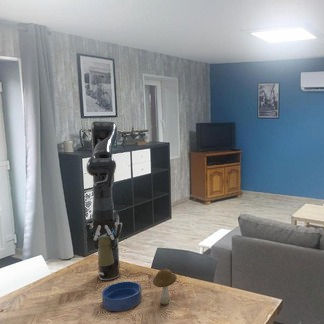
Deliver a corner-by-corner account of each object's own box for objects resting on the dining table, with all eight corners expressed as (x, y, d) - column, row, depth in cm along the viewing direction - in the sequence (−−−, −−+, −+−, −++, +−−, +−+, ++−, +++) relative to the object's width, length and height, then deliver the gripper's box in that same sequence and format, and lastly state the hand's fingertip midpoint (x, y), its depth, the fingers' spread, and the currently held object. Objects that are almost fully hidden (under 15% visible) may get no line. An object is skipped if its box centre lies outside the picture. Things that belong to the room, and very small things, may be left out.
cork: (108, 266, 135) (106, 240, 133) (94, 265, 136) (93, 239, 135) (117, 260, 141) (116, 235, 139) (104, 259, 142) (103, 234, 140)
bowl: (108, 294, 148) (108, 282, 148) (144, 292, 150) (143, 280, 150) (97, 313, 134) (97, 300, 133) (137, 311, 135) (137, 298, 135)
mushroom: (180, 297, 146) (180, 264, 145) (170, 311, 135) (169, 276, 133) (160, 295, 148) (160, 262, 146) (149, 309, 137) (148, 274, 135)
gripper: (124, 204, 140) (125, 244, 142) (88, 205, 138) (90, 245, 140) (119, 209, 132) (121, 251, 135) (81, 210, 131) (83, 252, 133)
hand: (105, 247), depth 138 cm, fingers closed on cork, 5 cm apart
